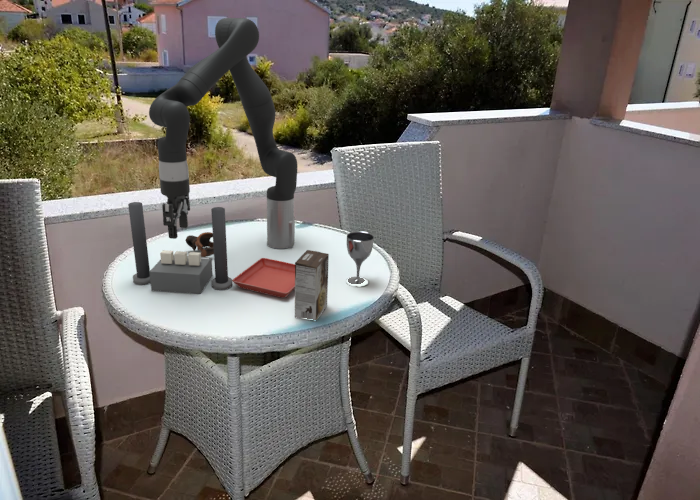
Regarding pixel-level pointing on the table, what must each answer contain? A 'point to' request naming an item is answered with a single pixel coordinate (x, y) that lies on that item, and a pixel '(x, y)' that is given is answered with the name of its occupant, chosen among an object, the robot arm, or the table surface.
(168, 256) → the paddles
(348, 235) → the wine glass
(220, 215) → the post
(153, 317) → the table surface
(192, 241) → the brown curved piece
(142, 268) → the post
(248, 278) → the plant saucer
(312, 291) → the coffee box
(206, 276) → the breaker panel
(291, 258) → the table surface
